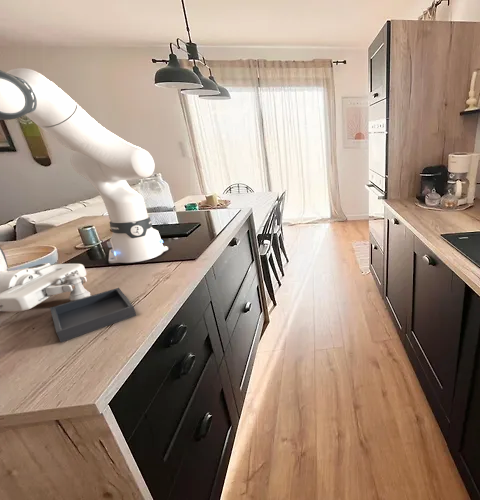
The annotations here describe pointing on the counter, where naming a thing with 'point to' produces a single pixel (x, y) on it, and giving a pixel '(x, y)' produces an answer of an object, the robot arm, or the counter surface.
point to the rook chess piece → (76, 287)
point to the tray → (91, 313)
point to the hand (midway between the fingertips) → (79, 283)
